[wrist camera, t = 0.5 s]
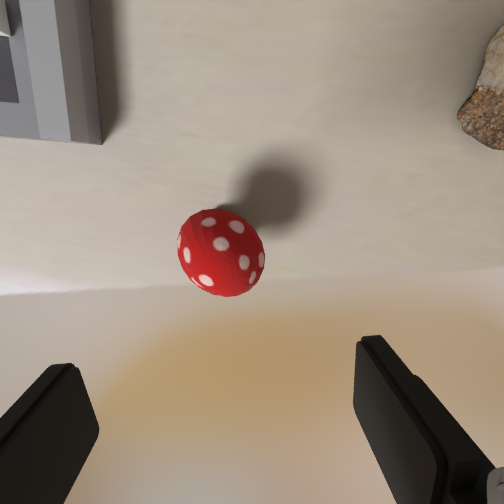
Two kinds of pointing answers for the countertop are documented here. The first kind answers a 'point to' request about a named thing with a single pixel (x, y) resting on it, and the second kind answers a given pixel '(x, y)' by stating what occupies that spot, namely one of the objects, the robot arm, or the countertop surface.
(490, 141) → the rock
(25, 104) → the panel
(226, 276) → the decorative mushroom
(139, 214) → the countertop surface
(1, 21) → the knob
